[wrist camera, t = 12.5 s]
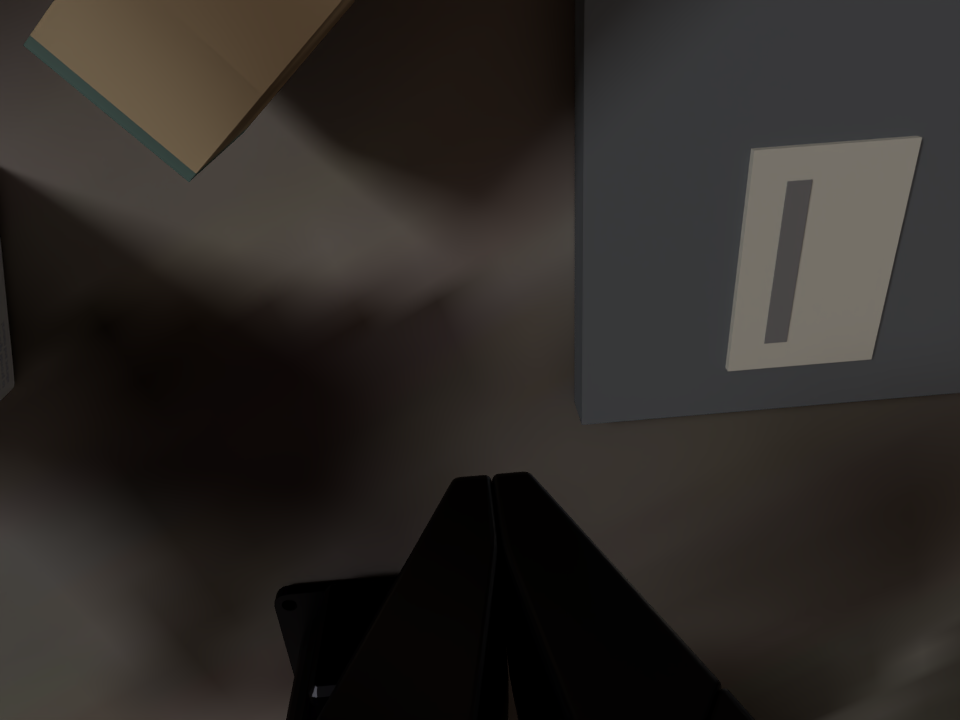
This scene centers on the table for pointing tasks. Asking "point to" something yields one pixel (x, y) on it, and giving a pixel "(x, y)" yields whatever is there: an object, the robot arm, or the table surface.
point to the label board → (765, 204)
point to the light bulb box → (4, 340)
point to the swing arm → (182, 64)
